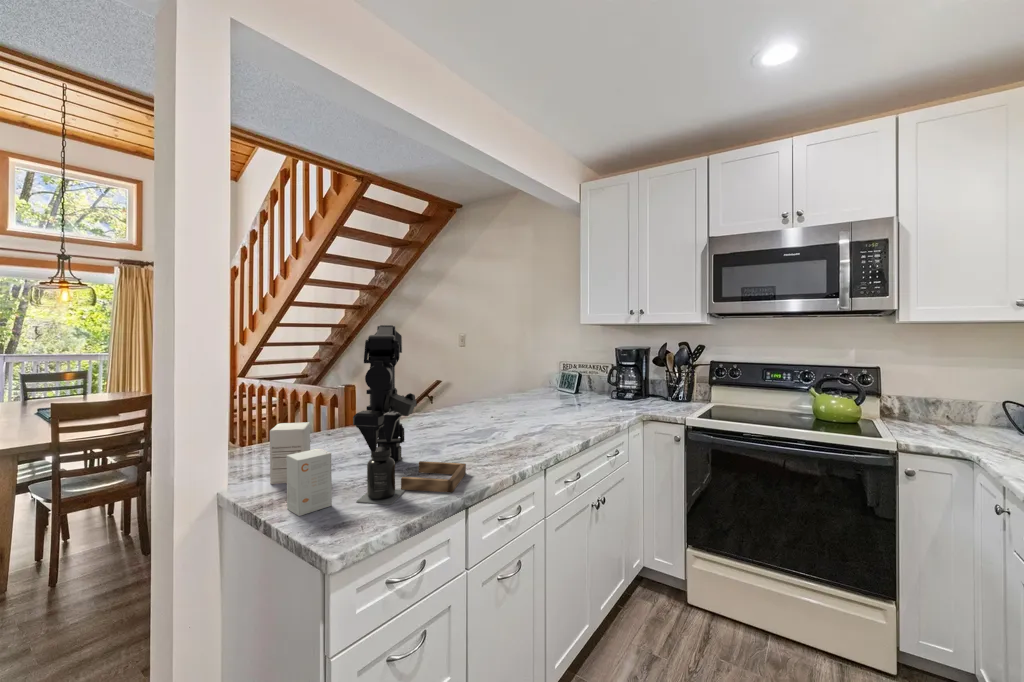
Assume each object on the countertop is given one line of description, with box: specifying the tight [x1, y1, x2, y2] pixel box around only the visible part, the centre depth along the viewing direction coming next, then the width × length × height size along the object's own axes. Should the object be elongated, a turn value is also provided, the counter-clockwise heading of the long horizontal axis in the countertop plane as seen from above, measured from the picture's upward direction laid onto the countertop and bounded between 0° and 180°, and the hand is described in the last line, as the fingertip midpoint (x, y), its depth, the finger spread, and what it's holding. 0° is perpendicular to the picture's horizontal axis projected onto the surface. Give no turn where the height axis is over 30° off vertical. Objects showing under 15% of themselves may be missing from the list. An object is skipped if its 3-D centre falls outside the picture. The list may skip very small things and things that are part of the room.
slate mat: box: [356, 488, 406, 506], centre depth 112 cm, size 9×9×1 cm
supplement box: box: [269, 421, 311, 485], centre depth 125 cm, size 9×9×15 cm
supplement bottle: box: [366, 446, 396, 500], centre depth 112 cm, size 7×7×12 cm
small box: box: [286, 448, 333, 517], centre depth 105 cm, size 8×6×13 cm
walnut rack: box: [400, 460, 467, 494], centre depth 124 cm, size 14×15×3 cm
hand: (381, 446), depth 112 cm, fingers open, 9 cm apart
